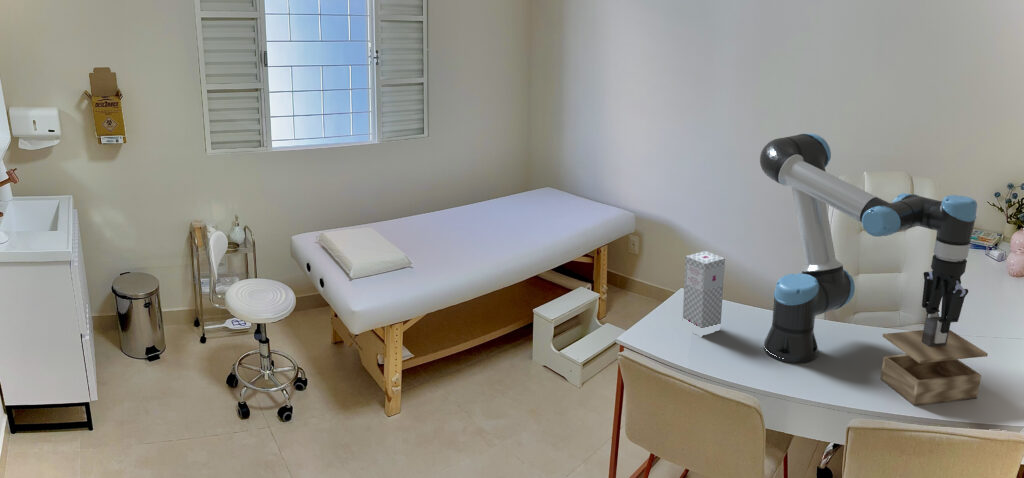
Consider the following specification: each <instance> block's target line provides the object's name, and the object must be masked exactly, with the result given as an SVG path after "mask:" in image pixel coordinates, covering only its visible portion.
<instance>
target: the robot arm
mask: <svg viewBox="0 0 1024 478" xmlns="http://www.w3.org/2000/svg"><path fill="white" fill-rule="evenodd" d="M831 157H832V152H831V148H830V145H829V144H828V142H827V140H825V138H824V137H821V136H820V135H818V134H816V133H800V134H796V135H790V136H785V137H778V138H774V139H772V140H770V141H768V143H766V144H765V146H764V147H763V149H762V150H761V152H760V156H759V163H760V167H761V170H762V171H763V172H764V174H765V175H766V176H767V177H768V178H769V179H771V180H772V181H774V182H776V183H778V184H780V185H782V186H784V187H788V186H790V188H791V190H792V191H791V192H792V196H793V200H794V202H793V203H794V206H795V213H796V217H797V223H798V228H799V234H800V238H801V246H802V250H803V254H804V255H803V256H804V260H805V262H804V263H805V264H804V265H803V267H802V268H801V273H796V274H795V273H790V274H785V275H783V276H781V277H780V278H779V279H778V280H777V281H776V283H775V289H774V291H773V292H774V293H773V297H774V299H773V308H772V309H773V311H772V324H771V326H770V329H769V331H768V333H767V335H766V337H765V339H764V344H763V350H764V352H765V354H767V355H768V356H770V357H771V358H773V359H774V360H775V359H776V360H778V361H781V362H785V363H791V364H804V363H809V362H812V361H814V360H815V359H817V357H818V350H819V347H818V343H817V340H816V336H815V331H814V329H815V328H814V327H815V319H816V316H817V317H818V316H820V315H823V314H825V313H827V312H828V313H829V312H831V311H835V310H838V309H840V308H842V307H844V306H846V305H847V304H850V302H851V300H852V299H853V297H854V294H855V293H856V286H855V281H854V278H853V276H852V275H851V274H849V271H847V270H846V269H844V265H843V263H842V262H841V261H839V260H838V259H837V257H836V252H835V251H836V250H835V247H834V241H833V236H832V230H831V224H830V219H829V214H828V208H827V205H828V206H830V207H832V208H833V209H834V210H837V211H839V212H841V213H842V214H845V215H847V216H849V217H851V218H853V219H854V220H857V221H858V222H860V223H861V224H862V227H863V229H864V230H865V232H866V233H867V234H868V235H870V236H872V237H886V236H887V237H888V236H891V235H893V234H896V233H898V232H902V231H906V230H908V229H913V228H916V227H921V228H924V229H928V230H933V231H935V232H936V236H935V237H936V238H935V242H934V246H933V251H932V253H933V255H932V259H931V265H930V269H931V271H924V272H923V278H924V279H923V280H924V282H923V292H922V298H921V299H922V302H921V307H922V309H925V311H926V318H932V317H941V319H938V323H937V328H936V334H935V339H934V343H936V344H937V343H945V341H946V336H947V333H948V332H949V330H950V329H951V324H952V323H958V322H959V320H960V319H959V318H960V316H961V312H962V309H963V305H964V302H965V297H967V295H968V293H969V289H968V288H964V287H963V286H962V285H961V283H962V281H961V280H962V279H961V278H962V276H963V274H965V273H966V268H967V262H968V261H967V258H968V257H969V251H970V246H971V242H972V236H973V230H974V226H975V222H976V220H977V209H978V202H977V201H976V200H975V199H974V198H971V197H968V196H963V195H958V194H957V195H956V194H953V195H952V194H951V195H946V196H944V197H943V199H942V201H941V200H937V199H933V198H930V197H925V196H921V195H918V194H915V193H906V192H905V193H904V192H903V193H899V194H898V195H897V196H896V197H895V198H894V199H893V200H892V202H888V201H886V200H884V199H883V198H882V199H881V198H880V197H877V196H876V195H873V194H872V193H869V192H867V191H865V190H863V189H861V188H859V187H858V186H855V185H853V184H851V183H849V182H847V181H845V180H843V179H841V178H838V177H837V176H834V175H833V174H831V173H829V172H827V171H826V167H827V166H828V165H829V163H830V161H831ZM940 306H941V309H939V308H940ZM939 312H941V313H939ZM950 323H951V324H950ZM949 328H950V329H949ZM764 346H765V348H766V349H767V350H768V351H769V352H770V353H772V354H774V355H776V356H777V357H776V356H774V355H772V354H770V353H769V352H768V351H766V349H765V348H764ZM779 357H780V358H779ZM782 358H784V359H782Z"/></svg>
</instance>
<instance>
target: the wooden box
mask: <svg viewBox="0 0 1024 478" xmlns="http://www.w3.org/2000/svg"><path fill="white" fill-rule="evenodd" d="M981 379H982V374H981V373H979V372H978V371H977V370H974V369H973V368H971V367H970V366H968V364H965V363H963V362H962V361H961V360H960V359H956V360H946V361H936V362H927V363H918V362H917V361H916V360H914V359H913V358H912V357H910V356H909V355H907V354H906V353H904V354H896V355H886V356H883V358H882V367H881V371H880V380H882V381H883V382H884V383H885V384H886V385H887V386H889V388H891V389H892V390H894V391H895V393H897V394H899V395H900V396H901V397H903V399H905V400H906V401H907V402H909V403H910V404H912V405H913V406H922V405H924V406H925V405H932V404H941V403H948V402H956V401H958V402H959V401H966V400H975V399H978V394H979V389H980V385H981Z"/></svg>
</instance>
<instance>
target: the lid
mask: <svg viewBox="0 0 1024 478" xmlns="http://www.w3.org/2000/svg"><path fill="white" fill-rule="evenodd" d="M938 319H941V316H939V317H932V318H927V317H925V320H924V325H923V329H922V330H921V329H919V330H912V331H911V330H910V331H899V332H891V333H890V332H889V333H883V334H882V337H883V338H884V339H886V340H887V341H888V342H890V343H891V344H892V345H894V346H895V347H897V348H898V349H899V350H901V351H902V352H903V353H904V354H907V355H909V356H910V357H912V358H913V359H914V360H916V361H917V362H918V363H927V362H936V361H946V360H956V359H958V360H963V359H965V360H966V359H973V358H985V357H988V353H987V352H986V351H984V350H983V349H981V348H980V347H978V346H976V345H975V344H974V343H972V342H971V341H968V340H967V339H965V338H963V337H962V336H961V335H958V334H957V333H956V332H955V331H954V332H953V330H951V327H950V328H949V332H948V333H947V336H946V341H945V343H937V344H936V343H934V339H935V334H936V328H937V323H938ZM951 324H952V322H951V323H950V325H951Z"/></svg>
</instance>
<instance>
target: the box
mask: <svg viewBox="0 0 1024 478" xmlns="http://www.w3.org/2000/svg"><path fill="white" fill-rule="evenodd" d="M684 261H685V262H684V265H685V266H684V280H683V281H684V283H683V284H684V285H683V306H682V319H683V318H684V319H686V320H688V321H689V322H691V323H693V324H694V325H696V326H698V327H700V328H705V327H709V326H713V325H717V324H721V323H722V313H723V312H722V309H723V308H722V307H723V296H724V279H725V267H726V266H725V264H726V258H725V257H722V256H720V255H718V254H715V253H713V252H710V251H707V250H704V251H699V252H696V253H692V254H688V255H685V260H684ZM721 325H722V324H721Z"/></svg>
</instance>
